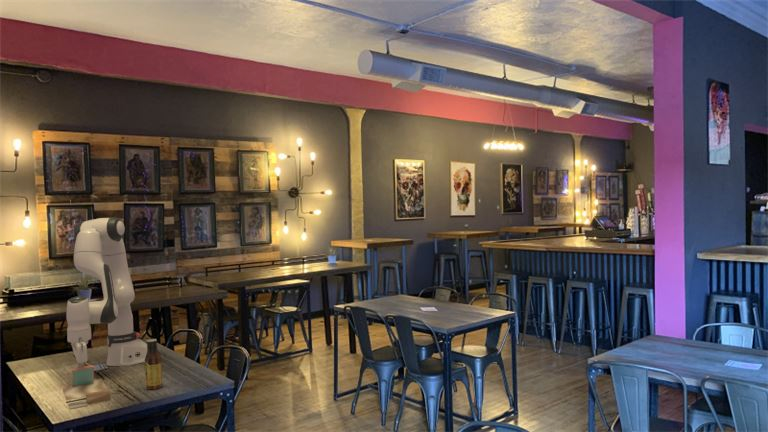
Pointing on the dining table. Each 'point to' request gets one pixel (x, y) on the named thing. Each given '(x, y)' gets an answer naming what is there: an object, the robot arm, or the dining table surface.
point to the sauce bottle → (153, 366)
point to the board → (82, 390)
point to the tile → (82, 375)
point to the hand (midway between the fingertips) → (80, 368)
